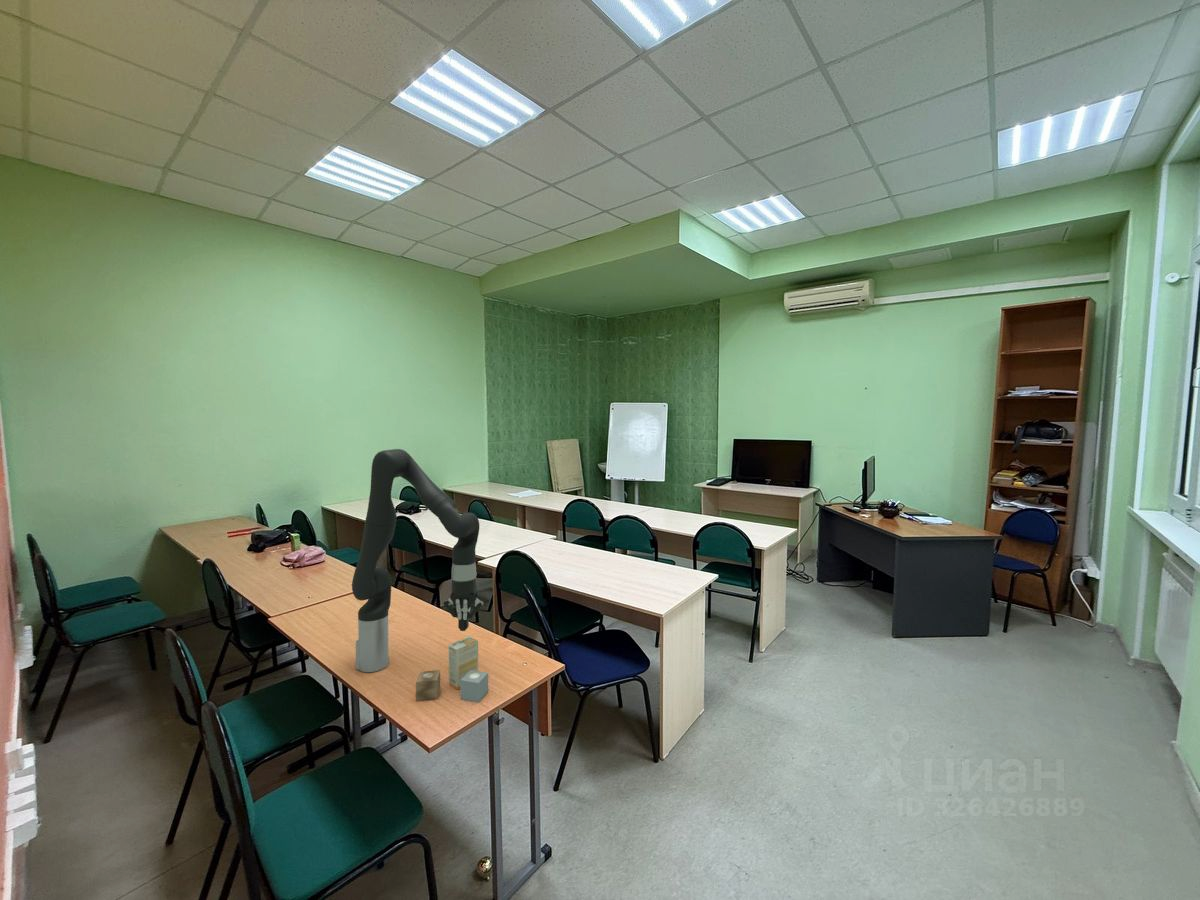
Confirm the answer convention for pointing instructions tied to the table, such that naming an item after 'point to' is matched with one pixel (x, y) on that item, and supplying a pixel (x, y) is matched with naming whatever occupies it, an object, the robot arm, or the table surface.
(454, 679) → the supplement box
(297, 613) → the table surface
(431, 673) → the walnut block
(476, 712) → the table surface
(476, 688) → the slate block
